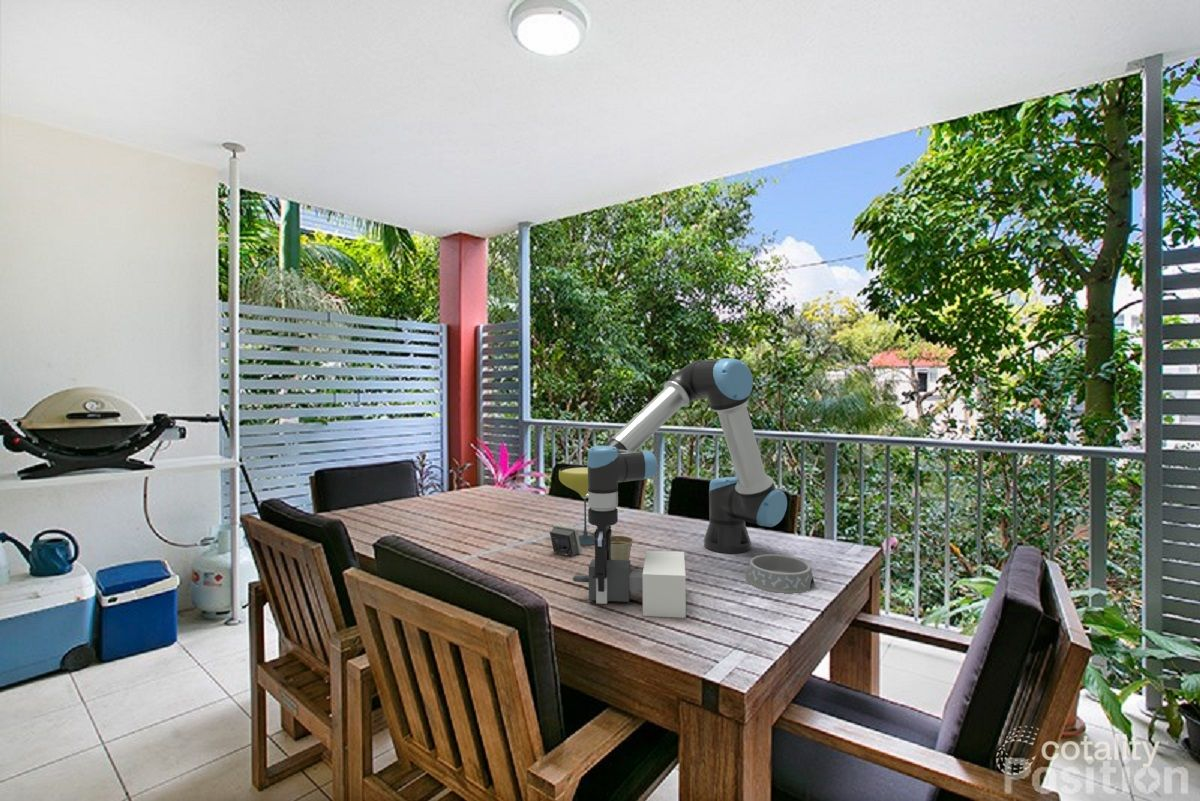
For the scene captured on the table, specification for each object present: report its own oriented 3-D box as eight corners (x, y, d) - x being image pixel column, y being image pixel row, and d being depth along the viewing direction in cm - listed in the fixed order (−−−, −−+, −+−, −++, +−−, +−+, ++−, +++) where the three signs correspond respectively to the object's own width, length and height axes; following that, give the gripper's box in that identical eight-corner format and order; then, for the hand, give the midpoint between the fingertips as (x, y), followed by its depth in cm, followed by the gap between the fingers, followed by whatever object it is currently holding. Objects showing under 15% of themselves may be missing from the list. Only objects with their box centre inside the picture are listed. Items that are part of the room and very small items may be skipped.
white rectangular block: (684, 588, 147) (683, 551, 147) (685, 617, 129) (685, 575, 129) (646, 587, 148) (646, 550, 148) (642, 615, 130) (642, 574, 130)
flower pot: (638, 565, 166) (638, 537, 165) (626, 576, 157) (626, 546, 157) (609, 561, 170) (609, 534, 169) (596, 571, 161) (596, 542, 161)
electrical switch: (582, 554, 177) (580, 526, 176) (572, 560, 173) (570, 531, 172) (558, 549, 183) (556, 522, 181) (549, 555, 178) (547, 527, 177)
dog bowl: (817, 576, 156) (817, 558, 156) (807, 599, 140) (807, 578, 140) (756, 567, 164) (756, 549, 164) (739, 588, 148) (739, 568, 148)
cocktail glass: (570, 551, 180) (569, 475, 179) (552, 537, 197) (551, 467, 196) (620, 544, 187) (619, 471, 186) (599, 531, 204) (598, 463, 203)
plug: (653, 593, 142) (652, 561, 142) (652, 602, 136) (652, 569, 136) (575, 590, 145) (574, 558, 144) (570, 599, 139) (570, 566, 138)
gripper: (593, 499, 150) (594, 583, 151) (582, 516, 131) (582, 612, 132) (621, 499, 149) (621, 584, 150) (613, 517, 130) (614, 614, 131)
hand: (603, 597), depth 141 cm, fingers closed on plug, 6 cm apart
